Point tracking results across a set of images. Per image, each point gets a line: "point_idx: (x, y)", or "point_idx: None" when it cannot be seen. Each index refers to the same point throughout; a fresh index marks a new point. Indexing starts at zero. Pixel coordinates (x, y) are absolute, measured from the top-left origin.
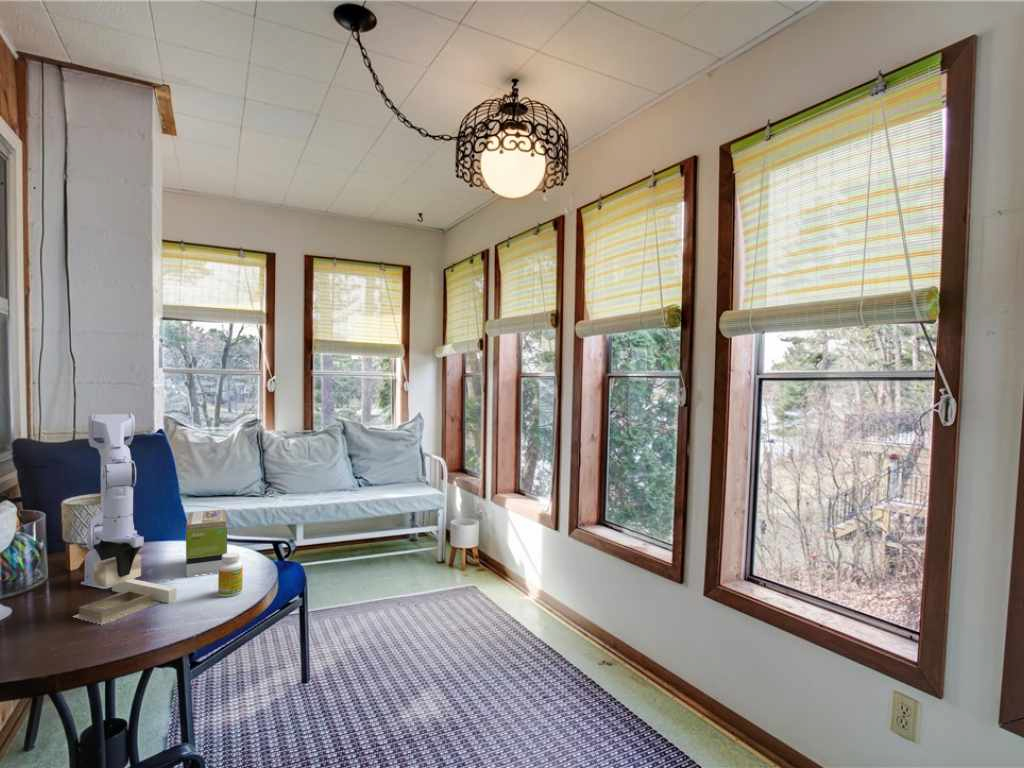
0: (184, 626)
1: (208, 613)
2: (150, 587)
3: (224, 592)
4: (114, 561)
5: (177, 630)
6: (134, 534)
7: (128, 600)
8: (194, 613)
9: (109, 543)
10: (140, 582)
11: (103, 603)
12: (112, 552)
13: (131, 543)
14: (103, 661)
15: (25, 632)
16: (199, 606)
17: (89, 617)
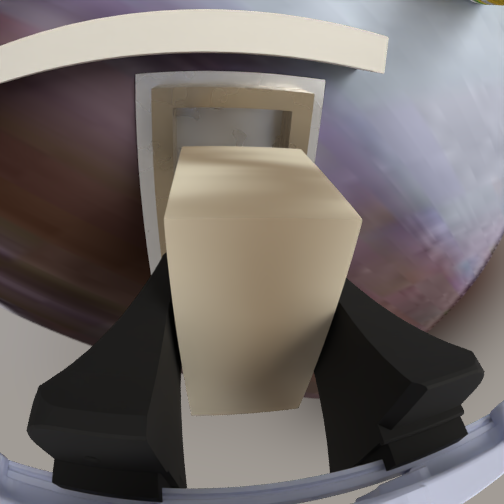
0: (484, 199)
1: (498, 121)
2: (254, 52)
3: (487, 4)
4: (287, 378)
5: (479, 219)
6: (458, 493)
7: (181, 109)
8: (474, 127)
9: (175, 479)
10: (139, 31)
11: None
12: (173, 386)
13: (457, 449)
14: None
15: None
16: (460, 77)
17: None
